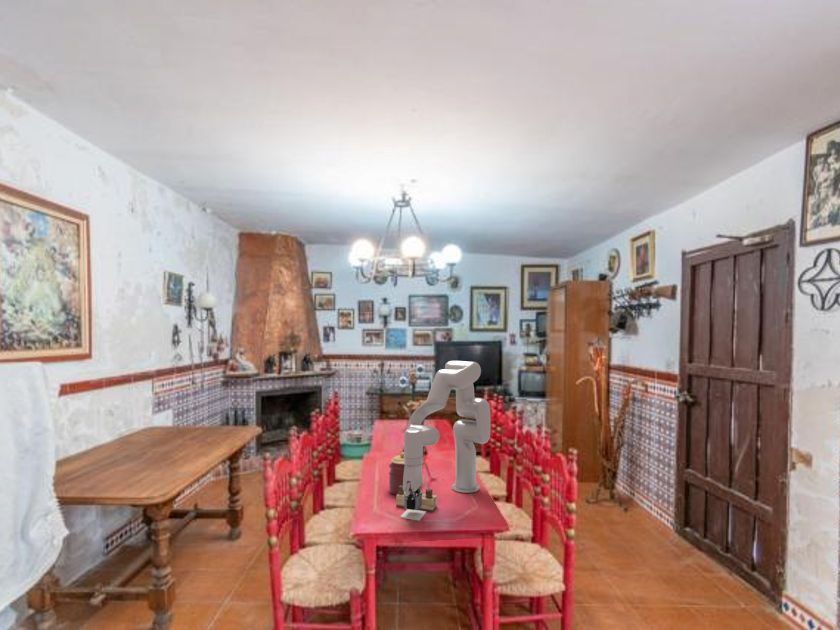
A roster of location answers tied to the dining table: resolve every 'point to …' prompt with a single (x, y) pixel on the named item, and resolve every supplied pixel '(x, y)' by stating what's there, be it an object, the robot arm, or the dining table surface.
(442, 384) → the robot arm
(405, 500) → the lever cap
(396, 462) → the canister
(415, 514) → the felt pad
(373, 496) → the dining table surface
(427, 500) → the plane body
